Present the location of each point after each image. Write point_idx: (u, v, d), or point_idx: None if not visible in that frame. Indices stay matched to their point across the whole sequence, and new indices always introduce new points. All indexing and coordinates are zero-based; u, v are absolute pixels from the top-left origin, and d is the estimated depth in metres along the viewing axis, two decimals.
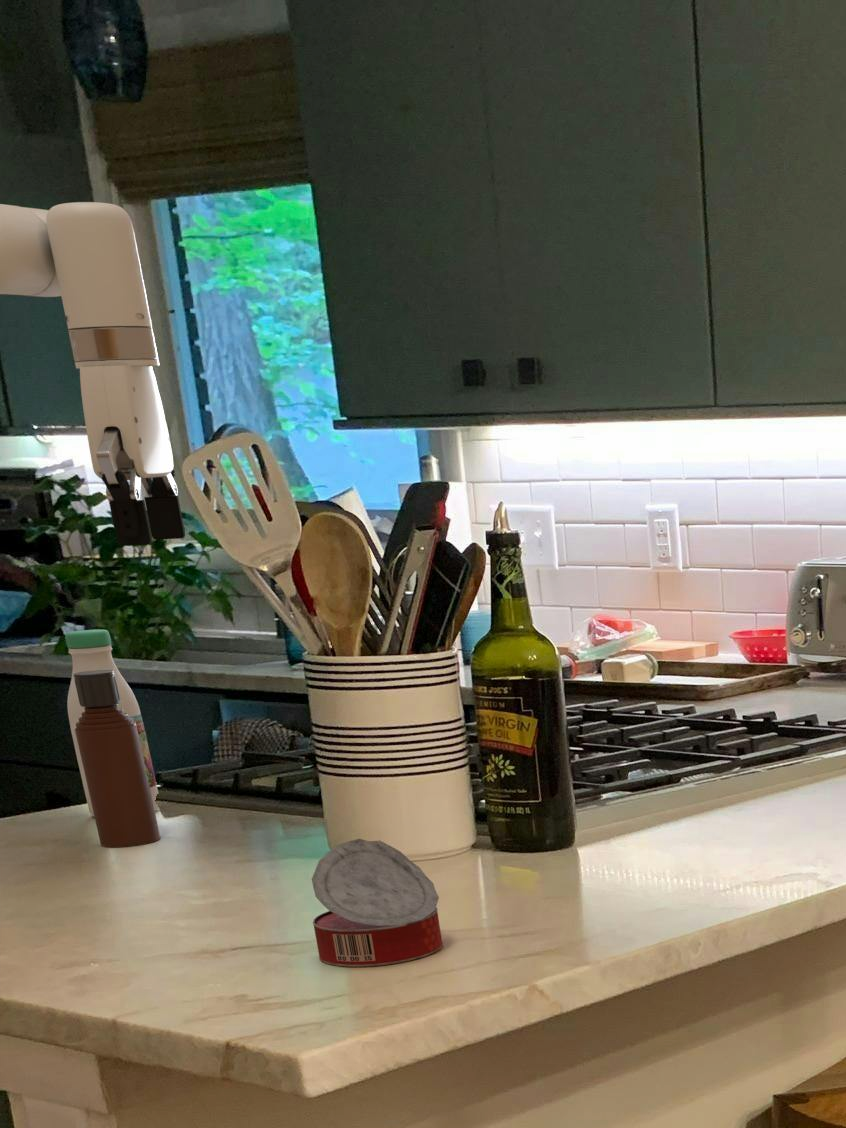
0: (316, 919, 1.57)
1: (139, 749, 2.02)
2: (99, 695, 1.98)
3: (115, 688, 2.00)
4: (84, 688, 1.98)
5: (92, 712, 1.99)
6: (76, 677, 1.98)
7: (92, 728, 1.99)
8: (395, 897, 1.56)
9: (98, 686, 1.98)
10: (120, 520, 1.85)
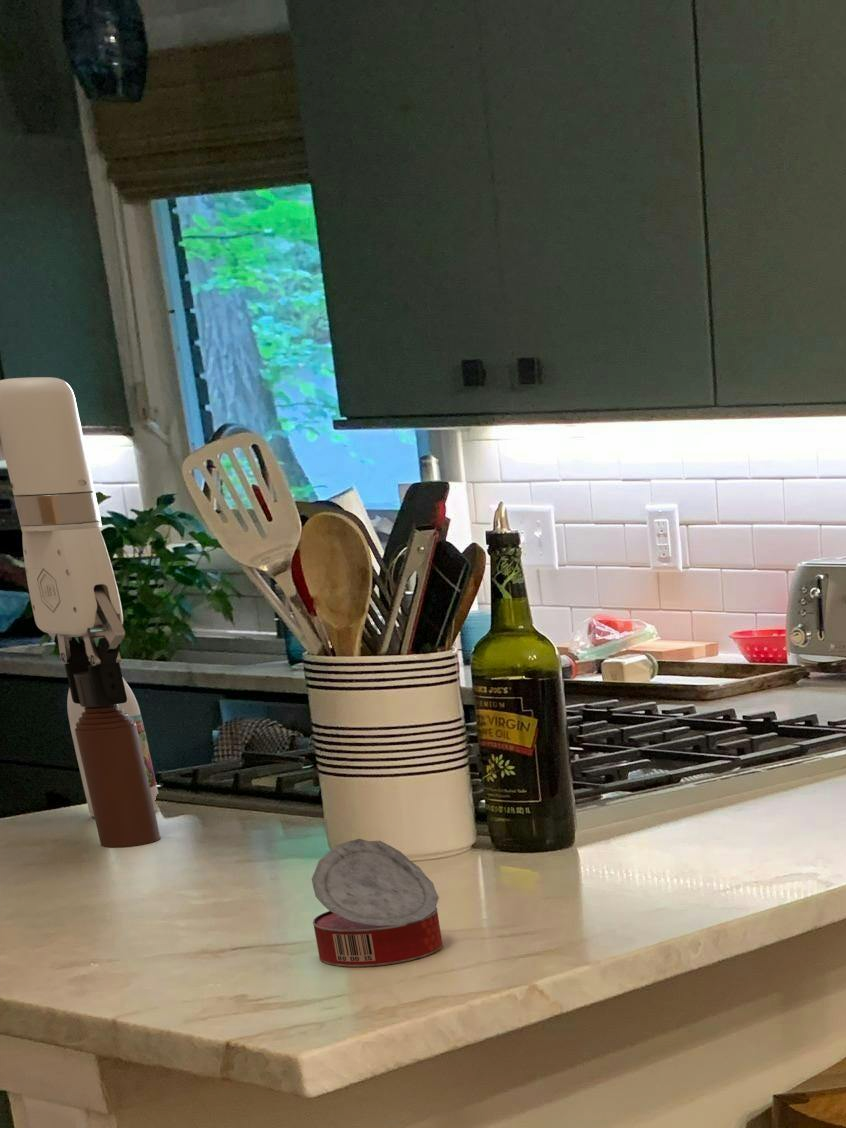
0: (316, 919, 1.57)
1: (139, 749, 2.02)
2: None
3: None
4: (84, 688, 1.98)
5: (92, 712, 1.99)
6: (76, 677, 1.98)
7: (92, 728, 1.99)
8: (395, 897, 1.56)
9: None
10: (106, 682, 1.97)
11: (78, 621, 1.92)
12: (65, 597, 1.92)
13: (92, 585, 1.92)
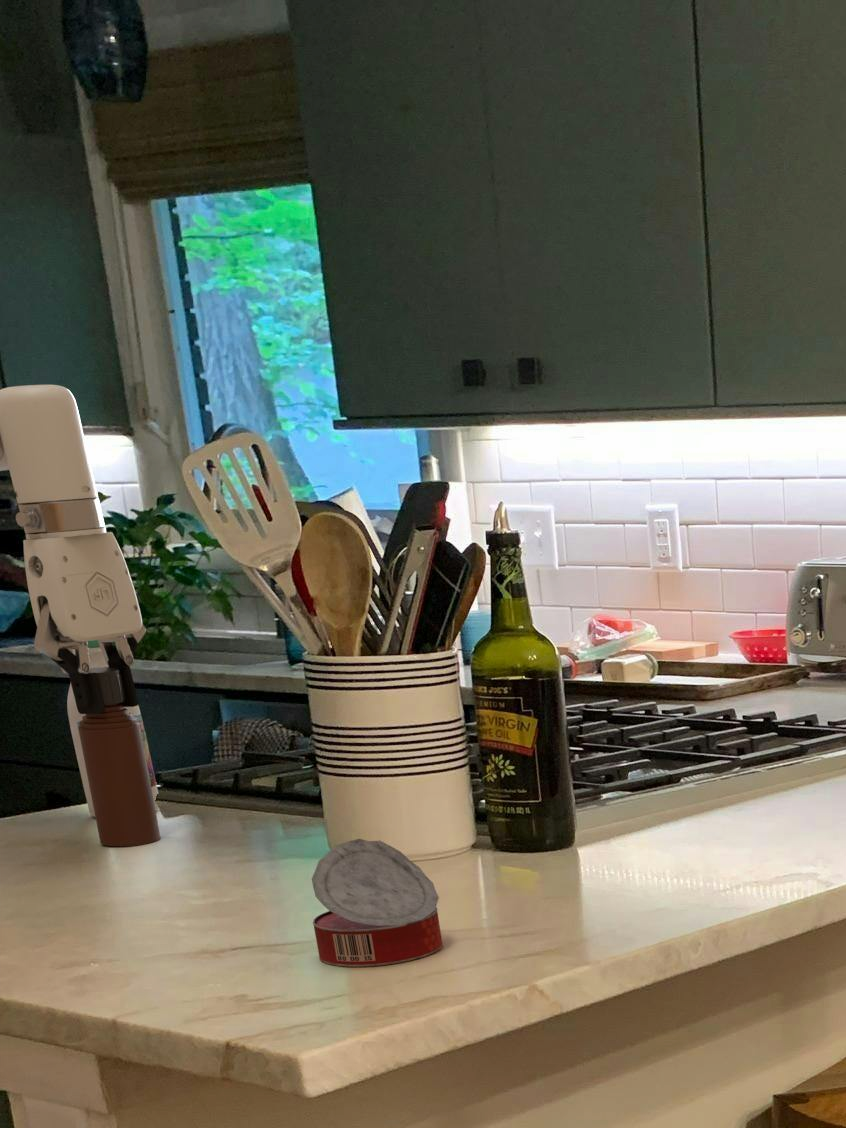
0: (316, 919, 1.57)
1: (142, 749, 2.02)
2: None
3: None
4: (119, 683, 1.99)
5: None
6: (113, 674, 1.98)
7: (96, 728, 1.99)
8: (395, 897, 1.56)
9: None
10: None
11: (139, 618, 1.99)
12: (124, 597, 1.97)
13: None
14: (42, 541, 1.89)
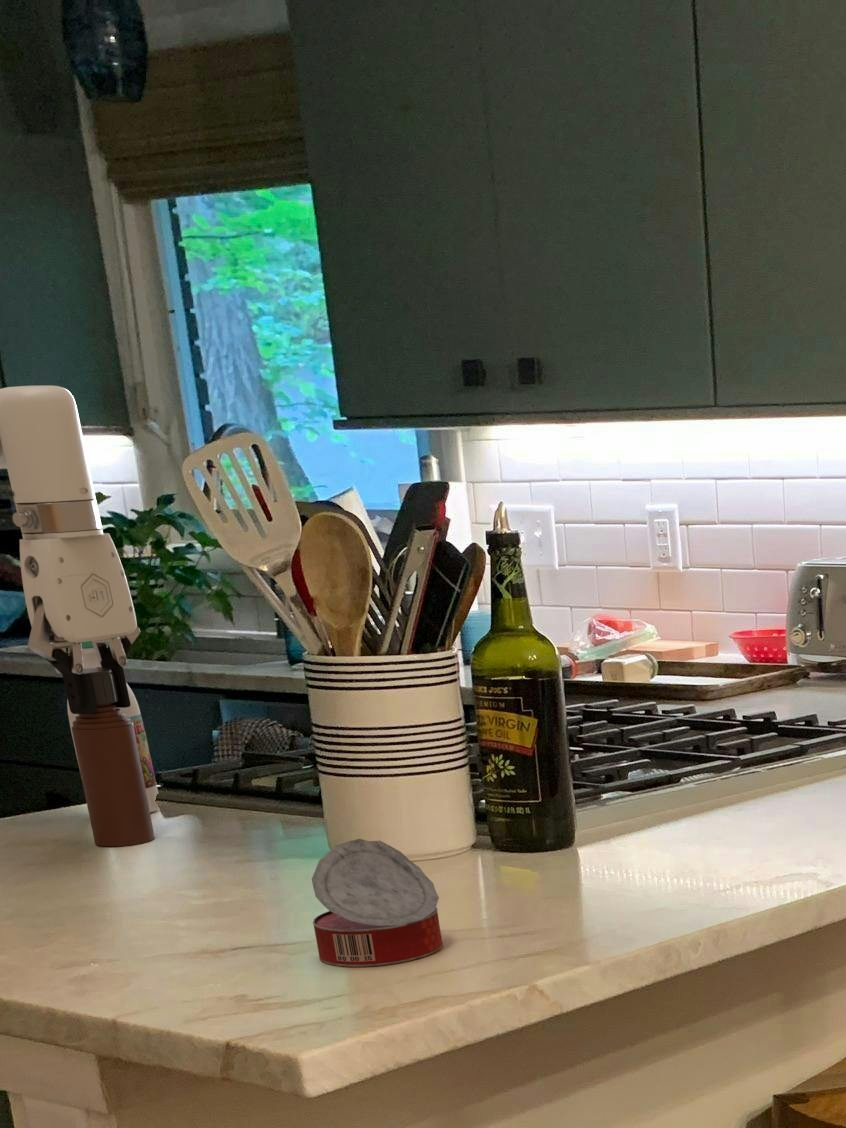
0: (316, 919, 1.57)
1: (136, 749, 2.03)
2: None
3: None
4: (112, 683, 2.00)
5: None
6: (105, 673, 1.98)
7: (89, 728, 1.99)
8: (395, 897, 1.56)
9: None
10: None
11: (134, 620, 2.00)
12: (119, 598, 1.98)
13: None
14: (38, 542, 1.90)
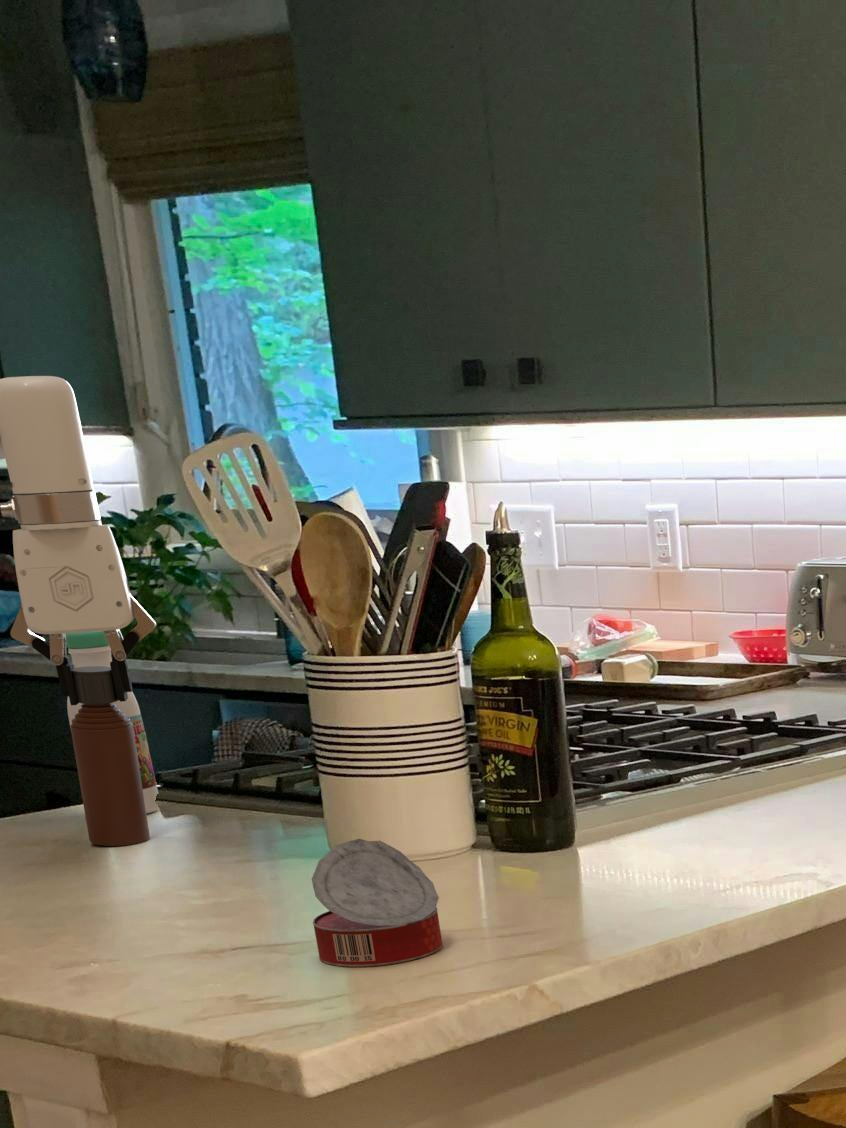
0: (316, 919, 1.57)
1: (135, 749, 2.02)
2: None
3: None
4: None
5: (89, 711, 1.99)
6: None
7: (89, 728, 1.98)
8: (395, 897, 1.56)
9: None
10: (128, 676, 2.00)
11: (123, 615, 1.96)
12: (103, 592, 1.94)
13: (125, 579, 1.96)
14: (13, 533, 1.91)
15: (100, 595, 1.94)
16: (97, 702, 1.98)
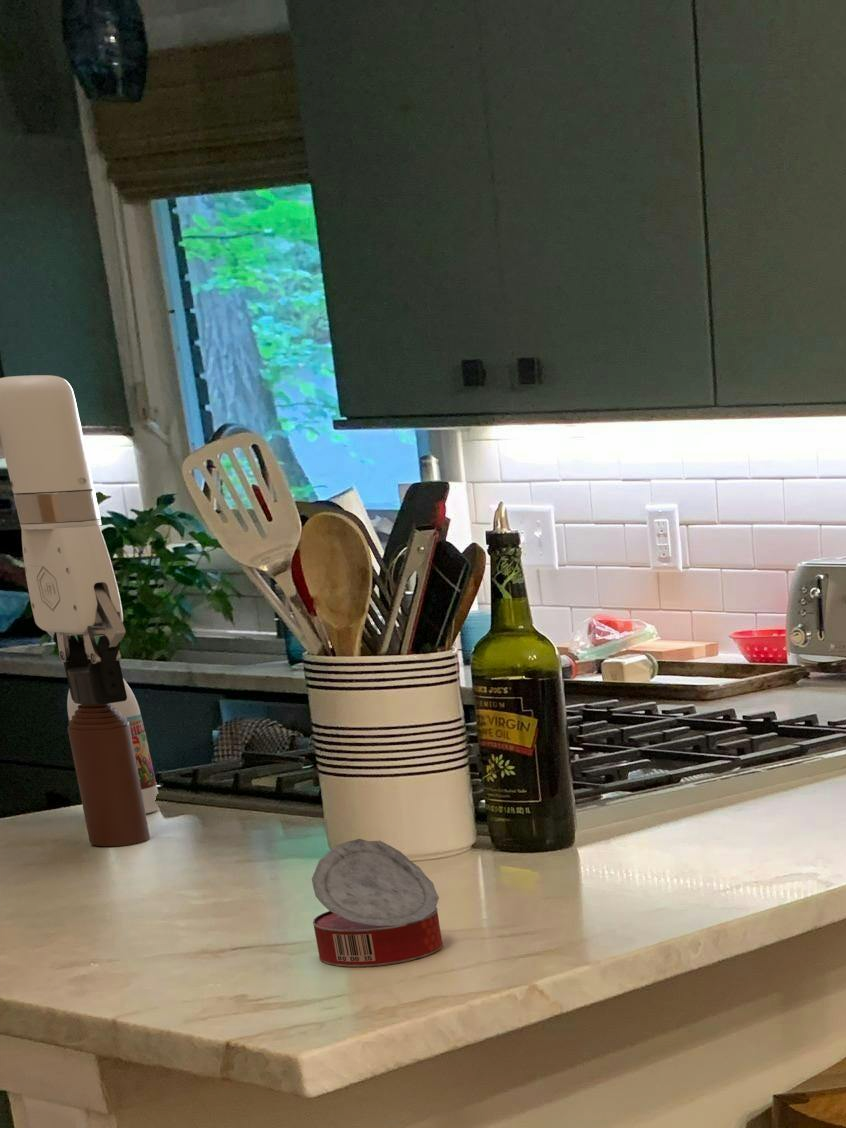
0: (316, 919, 1.57)
1: (132, 749, 2.02)
2: None
3: (71, 687, 1.98)
4: None
5: (86, 711, 1.99)
6: None
7: (86, 728, 1.98)
8: (395, 897, 1.56)
9: None
10: (106, 680, 1.97)
11: (78, 619, 1.92)
12: (65, 595, 1.92)
13: (92, 583, 1.92)
14: None
15: (63, 597, 1.92)
16: None
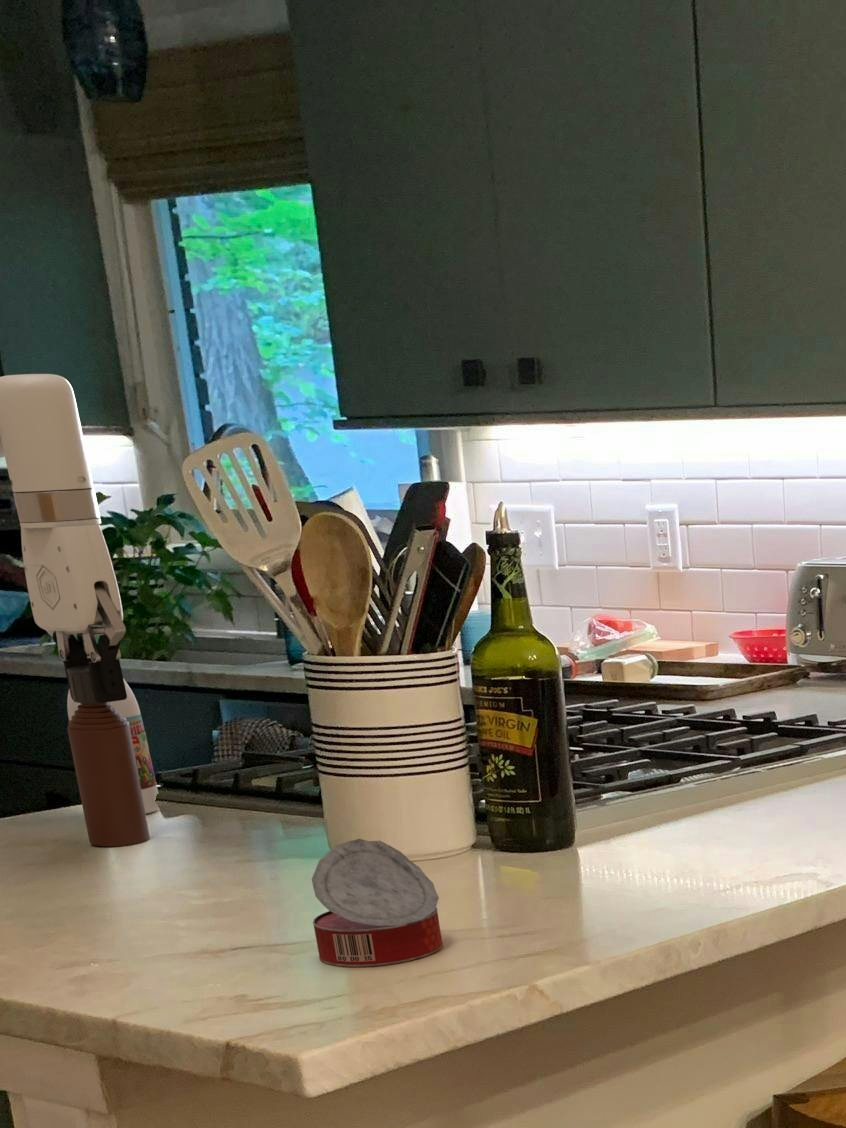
0: (316, 919, 1.57)
1: (132, 749, 2.02)
2: (80, 692, 1.98)
3: None
4: (70, 683, 1.98)
5: (86, 712, 1.99)
6: (68, 671, 1.98)
7: (86, 728, 1.98)
8: (395, 897, 1.56)
9: (79, 683, 1.97)
10: (106, 679, 1.97)
11: (78, 618, 1.92)
12: (65, 594, 1.92)
13: (92, 582, 1.92)
14: None
15: (63, 596, 1.92)
16: None
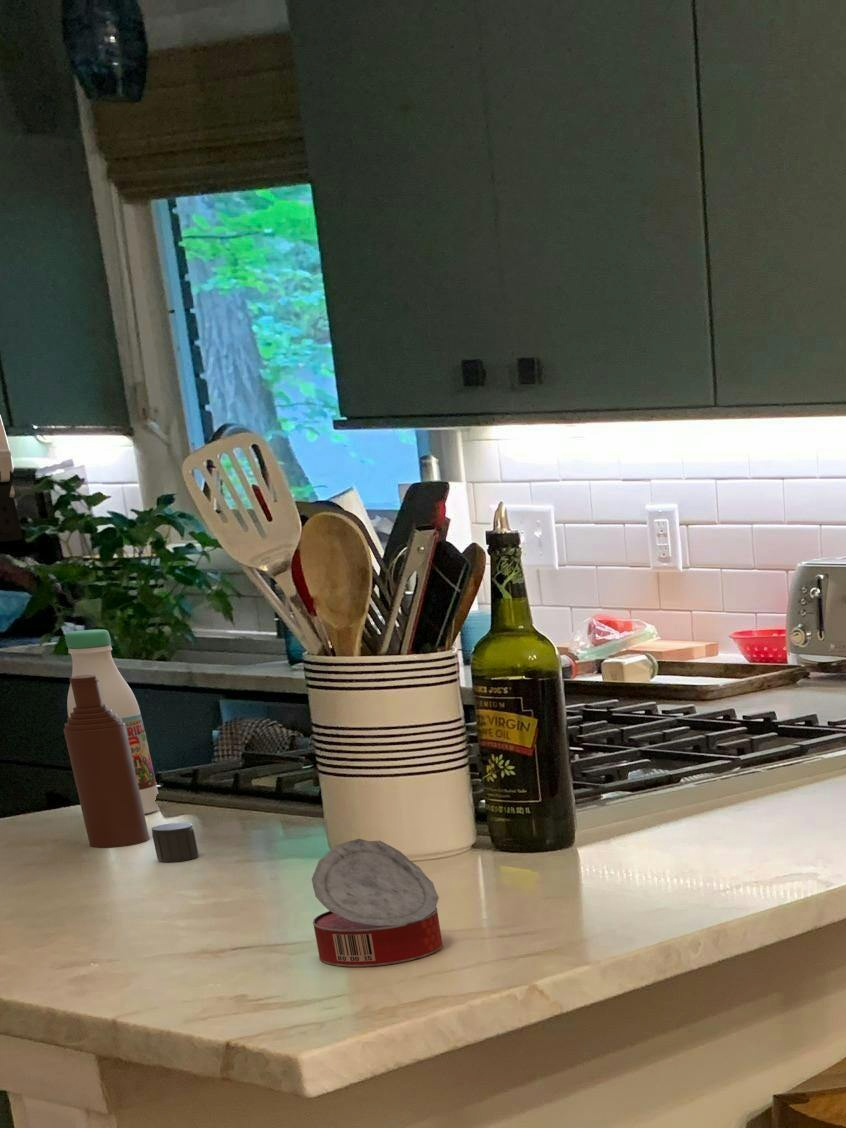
0: (316, 919, 1.57)
1: (128, 749, 2.03)
2: None
3: None
4: None
5: (81, 712, 1.99)
6: (192, 827, 1.96)
7: (82, 729, 1.99)
8: (395, 897, 1.56)
9: None
10: None
11: None
12: None
13: None
14: None
15: None
16: (173, 860, 1.95)
